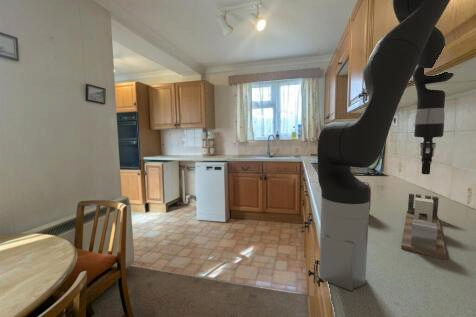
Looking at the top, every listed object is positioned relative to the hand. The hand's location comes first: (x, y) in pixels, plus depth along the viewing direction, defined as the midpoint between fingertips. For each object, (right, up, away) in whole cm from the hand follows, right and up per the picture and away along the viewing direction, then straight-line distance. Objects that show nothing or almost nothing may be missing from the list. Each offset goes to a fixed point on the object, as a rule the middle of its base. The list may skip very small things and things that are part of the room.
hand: (425, 173), depth 78 cm
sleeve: (-5, -15, -4) cm, 16 cm away
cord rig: (-6, -18, -6) cm, 20 cm away
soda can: (-17, -16, +11) cm, 26 cm away
